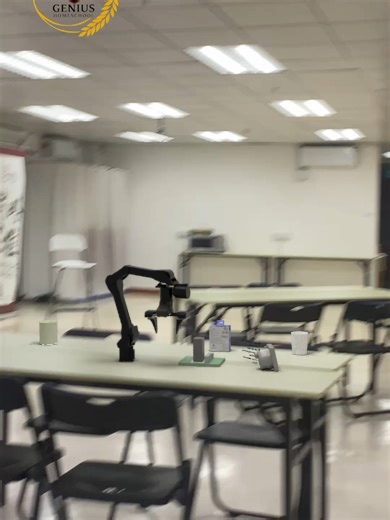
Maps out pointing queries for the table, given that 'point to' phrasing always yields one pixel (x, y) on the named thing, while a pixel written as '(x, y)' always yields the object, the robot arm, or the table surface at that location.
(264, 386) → the table surface
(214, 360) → the board
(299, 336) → the white cup
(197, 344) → the grey square pillar
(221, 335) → the ink cartridge box
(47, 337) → the can
